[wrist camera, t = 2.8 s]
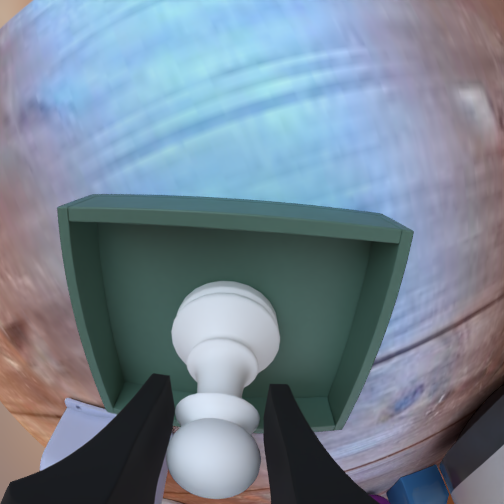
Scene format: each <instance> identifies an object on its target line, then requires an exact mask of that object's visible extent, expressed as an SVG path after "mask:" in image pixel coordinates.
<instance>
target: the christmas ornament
mask: <svg viewBox="0 0 504 504" xmlns="http://www.w3.org/2000/svg"><path fill="white" fill-rule="evenodd" d="M370 496H371V497H372V498H373V499H375V500H376V501H377V502H379V503H380V504H391V503H390V502H389V501H388V500H387V499H385V498H384V497H382V496H378V495H370Z"/></svg>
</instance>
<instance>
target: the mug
mask: <svg viewBox="0 0 504 504" xmlns="http://www.w3.org/2000/svg"><path fill="white" fill-rule="evenodd" d="M162 504H183V503H180V502H177V501H173V500H169V499H164V498H163V499H162Z"/></svg>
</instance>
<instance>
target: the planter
mask: <svg viewBox="0 0 504 504" xmlns="http://www.w3.org/2000/svg"><path fill="white" fill-rule="evenodd" d="M439 468H440V470H441V473H442V475H443V477H444V480H445V482H446V484H447V486H448V489H449V491H450V494H451V496H452V499H453V501H454V503H455V504H504V385H503V386H501V387H500V388H499V389H498V390H497V391H496V392H494V393H493V394H492V395H491V396H490V397H489V398H488V399H487V400H486V401H485V402H484V403H483V404H482V405H481V407H480V408H479V409H478V410H477V411H476V413H475V414H474V415H473V416H472V418H471V419H470V420H469V422H468V423H467V425H466V426H465V428H464V429H463V431H462V432H461V434H460V436H459V437H458V439H457V442H456V443H455V444H454V445H453V446H452V448H451V449H450V450H449V451H448V452H447V454H446V455H445V456H444V458H443V459H442V461H441V463H440V466H439Z"/></svg>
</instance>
